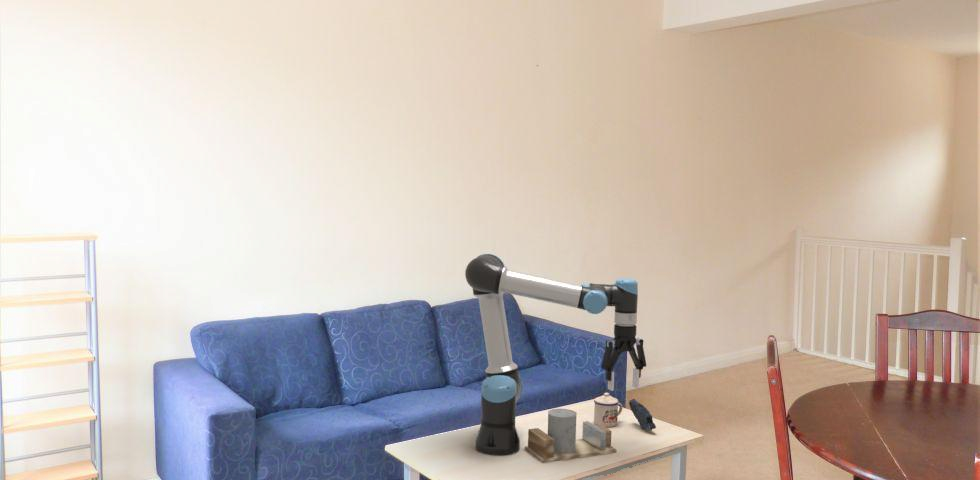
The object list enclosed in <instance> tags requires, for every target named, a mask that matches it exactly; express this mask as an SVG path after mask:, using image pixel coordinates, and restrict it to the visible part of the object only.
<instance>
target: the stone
mask: <svg viewBox="0 0 980 480" xmlns="http://www.w3.org/2000/svg"><path fill="white" fill-rule="evenodd" d="M628 405H629V408H630V410H631V412H632V413H633V416H634V417H635V419H636V420H637V422H638V424H639V426H640V428H641V429H642V430H645V429H646V430H649V431H652V430H654V429H656V428H657V426H656V425H655V423H654V421H653V416H652V414H651V413H650V411H649V410H648V408H647V407H646V406H644V405H643V404H642V403H640V402H639V401H637V400H636V399H635V398H633V399H630V400H629V402H628Z"/></svg>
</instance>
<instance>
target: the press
mask: <svg viewBox="0 0 980 480" xmlns="http://www.w3.org/2000/svg"><path fill="white" fill-rule="evenodd" d="M527 431H528V434H527V445H525V446H524V450H525V451H526V452H527V453H529V454H530V455H531V456H532V457H534V458H535V459H536V460H538V461H539V462H540V463H550V462H557V461H563V460H570V459H571V460H572V459H578V458H585V457H592V456H593V457H594V456H598V455H599V456H601V455H605V454H606V455H607V454H614V453H617V449H616V448H615V447H613V446H612V445H608V446H606V449H605V450H599V449H598V448H596V447H595V446H593V445H592V444H590V443H588V442H587V441H585V440H584V439H582V438H580V439H576V444H575V449H576V450H575V451H574V452H573V453H569V454H557V453H554V444H555V439H553V438H552V437H550V436H549V435H548V433H546V432H545V431H543V430H542V429H540V428H539V427H535V428H529V429H527Z"/></svg>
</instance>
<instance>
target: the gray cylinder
mask: <svg viewBox="0 0 980 480" xmlns="http://www.w3.org/2000/svg"><path fill="white" fill-rule="evenodd" d="M547 414H548V416H547V435H549V436H550V437H552V438H553V439H555V444H554V453H557V454H569V453H573V452H574V451H575V450H576V449H575V444H576V440H577V438H576V437H577V415H578V413H577V412H576V411H574V410H572V409H569V408H568V409H567V408H554V409H550V410H548V412H547Z"/></svg>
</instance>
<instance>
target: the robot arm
mask: <svg viewBox="0 0 980 480" xmlns="http://www.w3.org/2000/svg"><path fill="white" fill-rule="evenodd" d="M464 273H465V274H464V275H465V276H464V277H465V280H466V282H467V284H468V285H469V286H470V287H471V288H472V293H473V296H474V297H475V298H477V299H478V305H479V311H480V315H481V316H480V317H481V322H482V330H483V338H484V344H485V349H486V356H487V363H488V365H487V367H486V369H484V371H485V379H484V380H482V383H481V388H480V393H481V400H480V401H481V402H480V403H481V404H480V426H479V429H478V432H477V434H476V437H475V443H474V445H475V446H474V448H475V450H476V451H478V452H480V453H482V454H486V455H489V456H490V455H491V456H507V455H512V454H514V453H517V452H519V450H520V448H521V441H520V437H519V435H518V430H517V428H516V411H517V410H516V408H517V407H516V406H517V402H518V401H519V399H520V397H521V396H522V393H523V390H524V389H523V387H524V386H523V380H522V378H521V376H520V372H519V367H518V364H516V363H515V362H514V361H513V357H512V349H511V342H510V336H509V335H510V334H509V329H508V323H507V316H506V315H507V314H506V310H505V302H504V294H505V293H506V294H509V295H514V296H518V297H519V296H520V297H524V298H529V299H534V300H537V301H542V302H547V303H552V304H557V305H561V306H566V307H569V308H570V307H571V308H576V309H579V310H584V311H586V312H587V313H589V314H592V315H598V314H601V313H602V312H604V311H605V309H606V308H607V307H614V316H613V317H614V321H613V322H614V326H613V335H614V338H613V340H606V341H605V351H604V354H603V359H602V362H601V366H600V367H601V370H604V371H605V375H606V376H605V379H606V381H607V390H609V391H611V392H613V391H615V390H614V389H615V371H613V370H614V368H615V366H616V363H617V361H618V359H619V357H620V355H622V353H624V352H628V353H629V357H630V358H631V360H632V363H633V365H634V366H635V367H632V387H634V388H635V389H639V387H640V378H641V377H642V370H643V369H644V367H647V361H646V356H645V355H646V354H645V350H644V339H642V338H640V337H638V338H637V337H636V336H637V325H636V324H637V321H638V320H637V318H638V317H637V316H638V298H639V297H638V296H639V290H638V289H639V287H638V286H639V285H638V284H639V283H638V281H637V280H636V279H632V278H617V279H616V280H615V284H605V283H603V284H602V283H593V282H592V283H581V285H579V284H574V283H570V282H566V281H561V280H555V279H551V278H547V277H541V276H538V275H532V274H528V273H523V272H519V271H514V270H510V269H508V267H507V265H506V266H505V264H504V261H503V260H502V259H501V258H500V257H498V256H497V255H495V254H492V253H483V254H480V255H478V256H476V257H475V258H473V259H472V260H470V261H469V262H468V264H467V266H466V268H465V271H464ZM635 346H636V349H635ZM636 352H637V353H636Z"/></svg>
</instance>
